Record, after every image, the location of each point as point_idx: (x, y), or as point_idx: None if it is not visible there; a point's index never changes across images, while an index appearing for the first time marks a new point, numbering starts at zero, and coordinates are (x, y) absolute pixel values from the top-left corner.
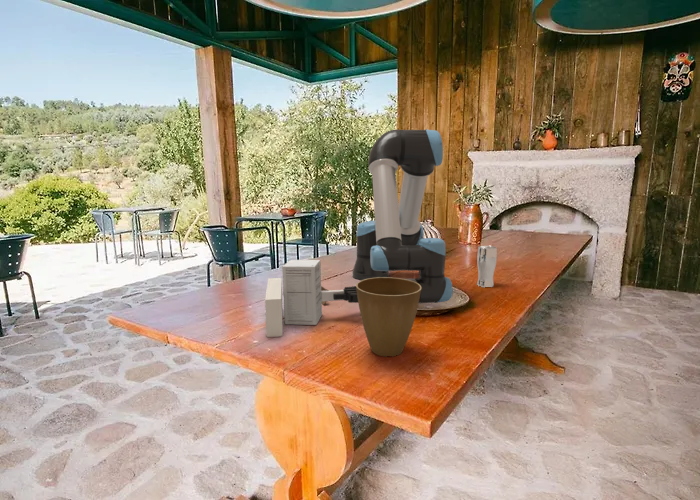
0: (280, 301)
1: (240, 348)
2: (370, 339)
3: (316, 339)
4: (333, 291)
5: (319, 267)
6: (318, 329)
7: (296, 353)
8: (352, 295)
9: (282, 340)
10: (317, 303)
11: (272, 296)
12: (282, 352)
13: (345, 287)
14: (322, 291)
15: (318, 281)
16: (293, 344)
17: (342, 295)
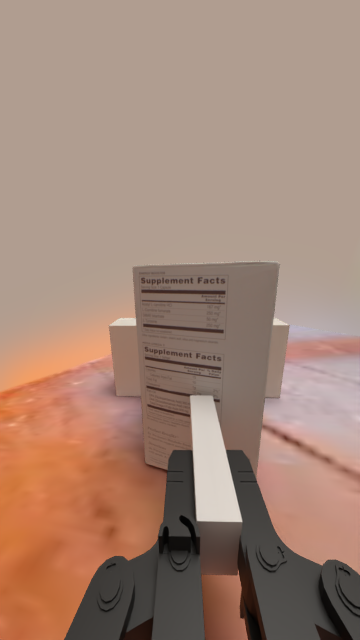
0: (109, 330)
1: (105, 362)
2: None
3: (46, 454)
4: (196, 440)
5: (232, 293)
6: (111, 467)
7: (19, 412)
8: (74, 633)
9: (96, 396)
10: (157, 411)
11: (134, 321)
12: (46, 396)
13: (348, 576)
14: (202, 398)
15: (186, 344)
16: (63, 409)
17: (165, 515)
